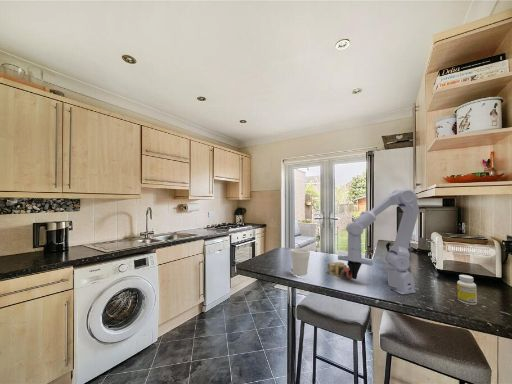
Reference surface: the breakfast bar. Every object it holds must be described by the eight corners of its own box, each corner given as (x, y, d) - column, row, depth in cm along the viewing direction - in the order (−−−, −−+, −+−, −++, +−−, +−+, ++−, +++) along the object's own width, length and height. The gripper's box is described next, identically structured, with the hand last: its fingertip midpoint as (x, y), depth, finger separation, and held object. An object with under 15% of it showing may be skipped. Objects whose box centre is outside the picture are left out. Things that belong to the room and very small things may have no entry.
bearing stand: (356, 281, 105) (356, 267, 106) (339, 283, 102) (339, 269, 103) (341, 273, 116) (341, 261, 116) (325, 275, 113) (325, 263, 113)
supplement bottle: (460, 297, 88) (460, 273, 89) (479, 303, 84) (478, 277, 84) (454, 300, 86) (454, 275, 86) (473, 306, 81) (472, 279, 81)
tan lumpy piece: (346, 275, 108) (346, 265, 108) (338, 276, 107) (338, 266, 107) (342, 273, 111) (342, 263, 111) (334, 274, 110) (334, 264, 110)
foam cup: (303, 272, 117) (303, 247, 118) (313, 278, 109) (313, 251, 109) (287, 274, 114) (287, 249, 115) (296, 280, 106) (296, 253, 106)
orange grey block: (353, 277, 102) (353, 269, 102) (348, 277, 101) (348, 270, 101) (339, 270, 112) (339, 263, 112) (334, 270, 111) (334, 263, 112)
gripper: (374, 249, 99) (374, 279, 98) (341, 244, 108) (341, 272, 107) (370, 252, 93) (370, 284, 93) (336, 247, 102) (336, 276, 102)
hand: (354, 278), depth 100 cm, fingers closed
